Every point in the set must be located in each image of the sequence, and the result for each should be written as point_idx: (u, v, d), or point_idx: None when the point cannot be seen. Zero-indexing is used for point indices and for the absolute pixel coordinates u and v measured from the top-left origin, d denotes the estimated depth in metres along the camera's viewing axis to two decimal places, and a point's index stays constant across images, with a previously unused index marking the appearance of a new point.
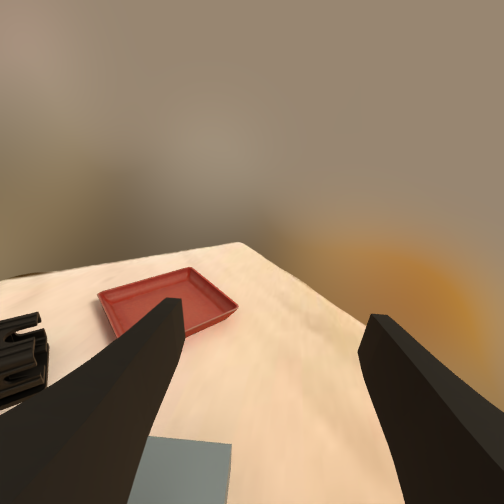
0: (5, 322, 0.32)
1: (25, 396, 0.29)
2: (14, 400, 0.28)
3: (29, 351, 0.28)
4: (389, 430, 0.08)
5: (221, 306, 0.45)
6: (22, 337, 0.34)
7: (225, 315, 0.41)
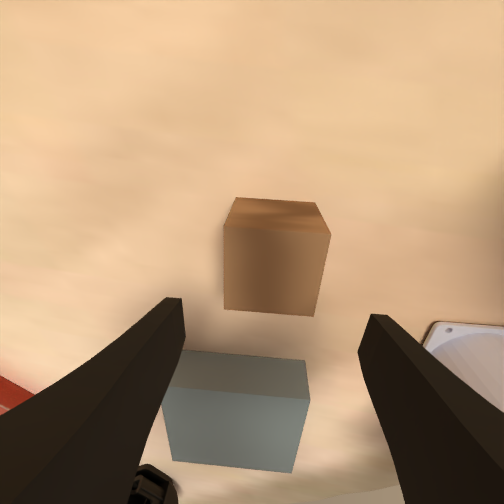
0: None
1: (155, 474, 0.34)
2: (159, 477, 0.35)
3: None
4: (389, 430, 0.08)
5: None
6: None
7: None
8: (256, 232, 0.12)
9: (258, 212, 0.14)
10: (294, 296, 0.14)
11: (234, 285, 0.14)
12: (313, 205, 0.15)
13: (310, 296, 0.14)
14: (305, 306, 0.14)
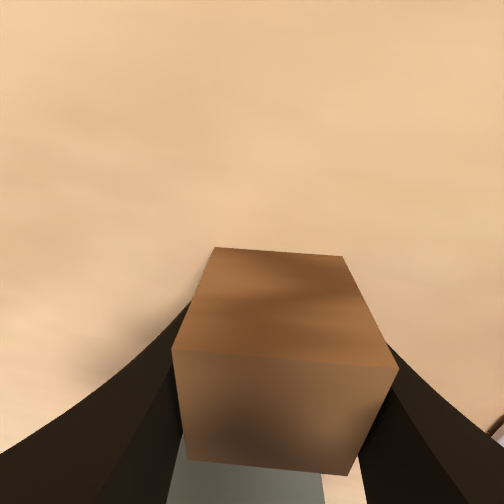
0: None
1: None
2: None
3: None
4: None
5: None
6: None
7: None
8: (240, 360, 0.06)
9: (248, 290, 0.08)
10: (314, 451, 0.07)
11: (203, 433, 0.07)
12: (341, 266, 0.09)
13: (343, 452, 0.07)
14: (333, 463, 0.08)
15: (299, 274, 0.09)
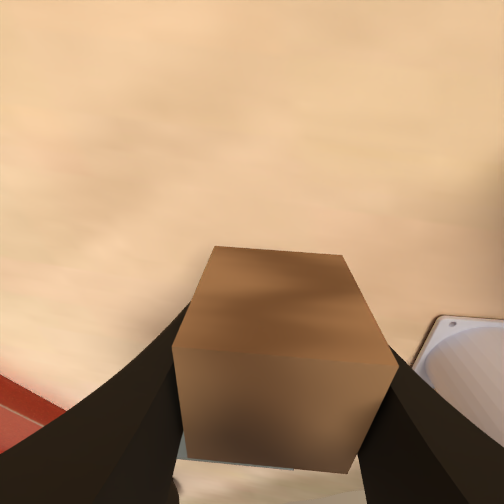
0: None
1: None
2: None
3: None
4: None
5: None
6: None
7: None
8: (240, 358, 0.06)
9: (249, 288, 0.08)
10: (314, 450, 0.07)
11: (203, 431, 0.07)
12: (341, 265, 0.09)
13: (343, 450, 0.07)
14: (333, 462, 0.08)
15: (299, 273, 0.09)
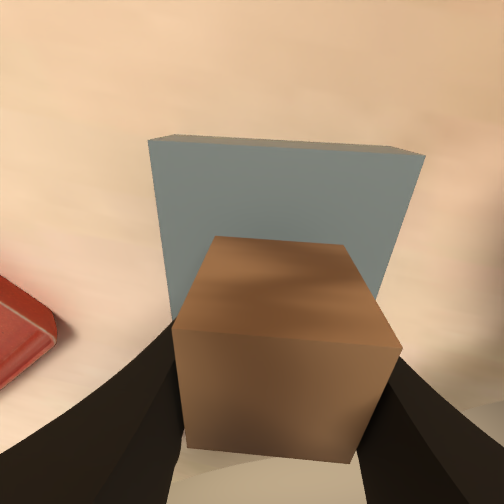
0: None
1: None
2: None
3: None
4: None
5: None
6: None
7: None
8: (242, 340, 0.06)
9: (249, 275, 0.08)
10: (316, 438, 0.07)
11: (203, 418, 0.07)
12: (343, 254, 0.09)
13: (345, 438, 0.07)
14: (335, 451, 0.07)
15: (300, 261, 0.09)
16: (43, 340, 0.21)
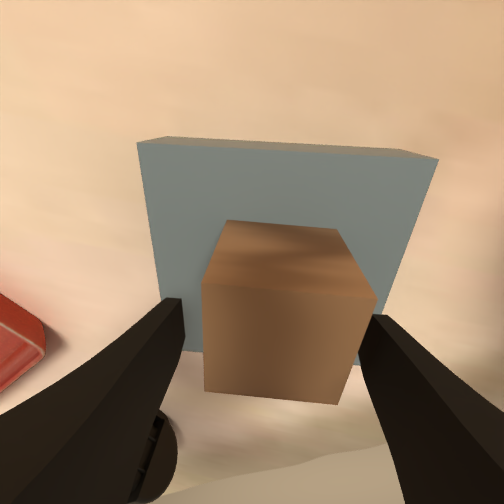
0: None
1: None
2: None
3: None
4: (389, 430, 0.08)
5: None
6: None
7: None
8: (255, 293, 0.07)
9: (258, 249, 0.09)
10: (310, 380, 0.09)
11: (220, 363, 0.09)
12: (336, 235, 0.11)
13: (334, 380, 0.09)
14: (326, 392, 0.09)
15: (300, 240, 0.10)
16: (31, 351, 0.20)
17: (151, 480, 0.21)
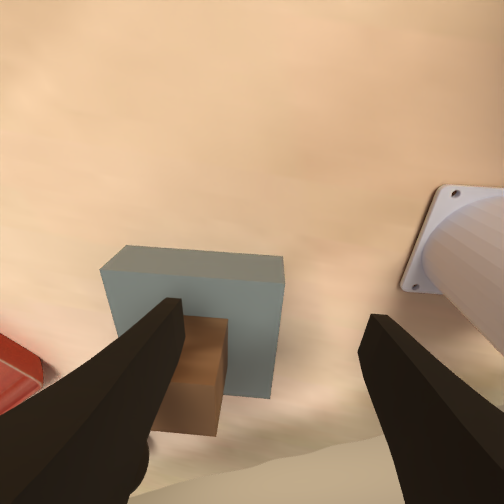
0: None
1: None
2: None
3: None
4: (389, 430, 0.08)
5: None
6: None
7: None
8: None
9: None
10: (195, 423, 0.15)
11: None
12: (223, 326, 0.17)
13: (208, 423, 0.15)
14: (206, 430, 0.15)
15: (196, 333, 0.16)
16: (32, 382, 0.26)
17: None
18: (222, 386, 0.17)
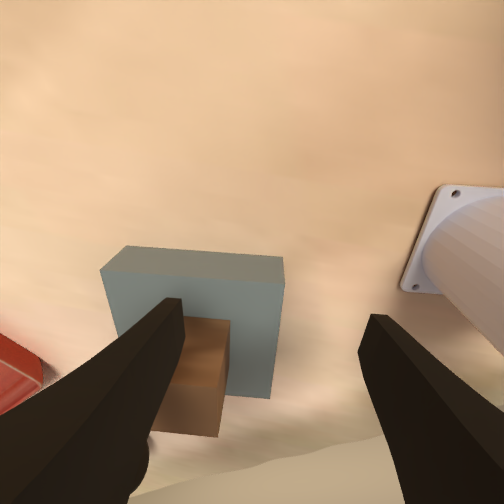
0: None
1: None
2: None
3: None
4: (389, 430, 0.08)
5: None
6: None
7: None
8: None
9: None
10: (197, 424, 0.15)
11: None
12: (225, 328, 0.17)
13: (210, 425, 0.15)
14: (208, 431, 0.16)
15: (199, 334, 0.17)
16: (32, 382, 0.26)
17: None
18: (224, 387, 0.17)
